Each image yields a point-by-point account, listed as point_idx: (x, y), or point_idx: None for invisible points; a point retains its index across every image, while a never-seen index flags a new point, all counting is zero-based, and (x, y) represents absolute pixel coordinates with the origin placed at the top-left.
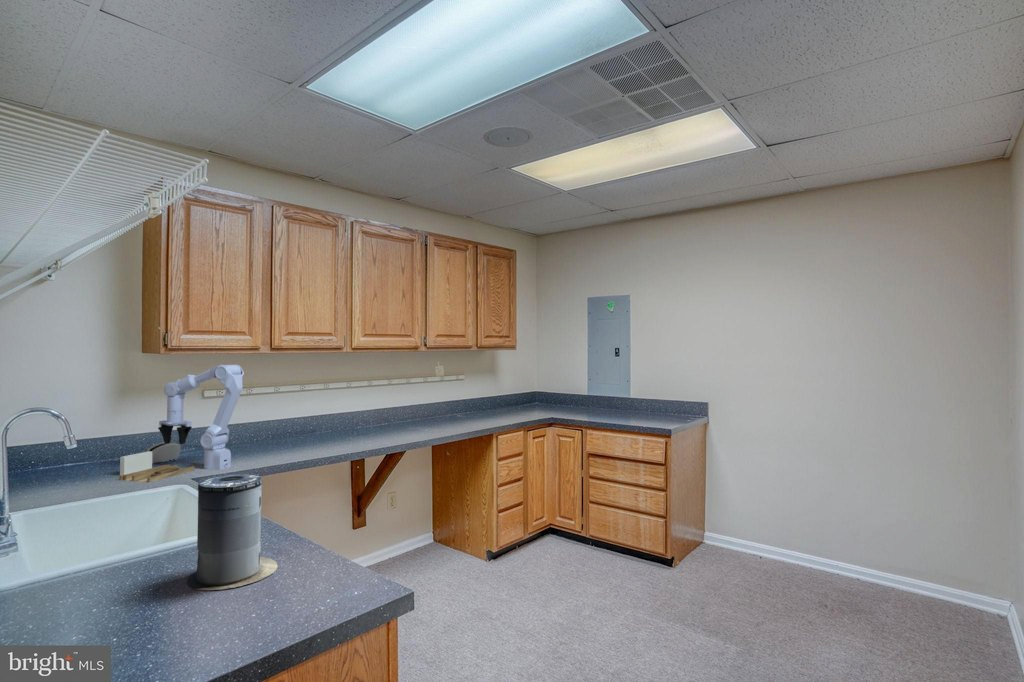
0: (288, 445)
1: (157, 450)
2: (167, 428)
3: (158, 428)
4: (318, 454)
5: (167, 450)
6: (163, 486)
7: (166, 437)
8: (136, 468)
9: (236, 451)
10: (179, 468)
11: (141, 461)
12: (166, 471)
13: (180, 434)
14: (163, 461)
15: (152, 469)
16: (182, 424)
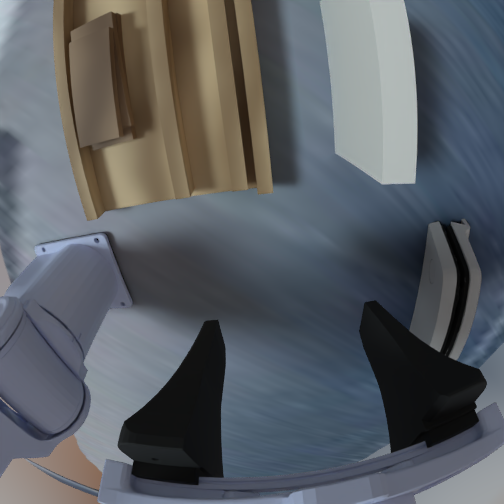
0: (238, 464)
1: (441, 290)
2: (409, 419)
3: (479, 373)
4: (92, 426)
5: (424, 330)
6: (9, 26)
7: (382, 343)
8: (340, 58)
9: (302, 429)
10: (81, 146)
11: (356, 88)
12: (71, 71)
13: (175, 384)
14: (419, 293)
15: (215, 67)
16: (195, 495)
